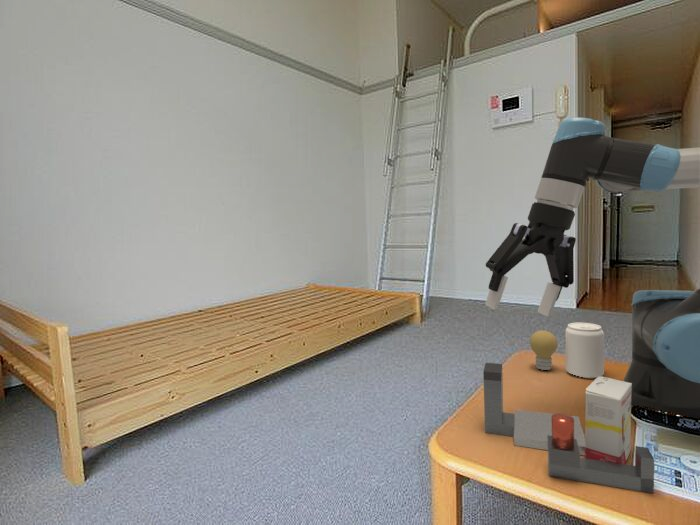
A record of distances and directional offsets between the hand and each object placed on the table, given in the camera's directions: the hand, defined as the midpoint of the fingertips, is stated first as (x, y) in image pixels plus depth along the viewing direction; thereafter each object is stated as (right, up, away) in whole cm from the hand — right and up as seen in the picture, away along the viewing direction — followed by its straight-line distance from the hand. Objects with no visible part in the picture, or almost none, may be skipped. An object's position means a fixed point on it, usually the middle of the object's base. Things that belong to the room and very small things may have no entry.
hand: (518, 311), depth 80 cm
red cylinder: (-1, -20, -19) cm, 27 cm away
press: (0, -21, -6) cm, 22 cm away
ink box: (+8, -22, -15) cm, 28 cm away
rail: (+3, -22, -20) cm, 30 cm away
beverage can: (+25, -18, +20) cm, 36 cm away
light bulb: (+17, -18, +25) cm, 35 cm away
